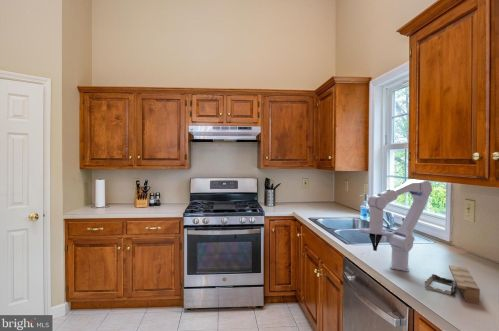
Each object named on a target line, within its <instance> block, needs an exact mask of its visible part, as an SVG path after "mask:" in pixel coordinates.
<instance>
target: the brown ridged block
mask: <svg viewBox="0 0 499 331" xmlns="http://www.w3.org/2000/svg"><path fill="white" fill-rule="evenodd" d="M448 269H449V270H450V274H451V275H452V278H453V279H454V283H455V285H456V286H457V288H458V289H459V290H460V292H461V294H462V296H463V299H464V300H465V302H466V303H472V304H478V305H479V304H480V294H481V292H480V291H481V289H480V287H479V286H478V284H477V282H476V280H475V279H474V277H473V275H472V274H471V273H470V271H469V269H468V268H467V267H462V266H457V265H456V266H455V265H450V264H449V265H448Z"/></svg>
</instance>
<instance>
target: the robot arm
mask: <svg viewBox="0 0 499 331" xmlns="http://www.w3.org/2000/svg"><path fill="white" fill-rule="evenodd" d="M432 192H433V187H432V183H431V181H429V180H421V179H419V180H418V179H414V178H413V179H411V178H410V179H408V180H405V182H404V183H403V184H400V185H398V187H395V188H394V189H392V188H385V190H384V191H382V192H378V193H377V194H372V195H371V196H370V197H368V200H367V205H368V207H369V208H368V210H369V225H368V226H369V228H359V229H358V232H359V234H366V235H368V237H369V239H370V242H371V245H372V250H373V251H374V252H377V251H378V246H379V243H380V242H381V240H382V238H383V237H388V244H389V245H390V248H391V261H390V264H389V265H390V267H389V268H390V269H391V270H392V269H393V270H398V271H402V272H410V265H409V256H410V255H409V252H411V250H412V249H413V246H414V241H415V240H416V239H415V237H414V235H413V232H414V230H415V227H416V226H417V223H418V222H419V219H420V218H421V215H422V214H423V212H424V209H425V208H426V206H427V204H428V202H429V198H430V195H431V193H432ZM406 193H409V195H410V196H411V197H412V199H413V202H412V204H411V206H410V207H409V209H408V211H407V213H406V215H405V217H404V219H403V221H402V222H401V224H400V227H399V228H396V229H394V230H393V231H392V232H391V231H387V230H383V227H384V209H386V207H387V205H389V204H390V203H392V202H394V201H396V200H397V199H398V197H399V196H401V195H403V194H406Z"/></svg>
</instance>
